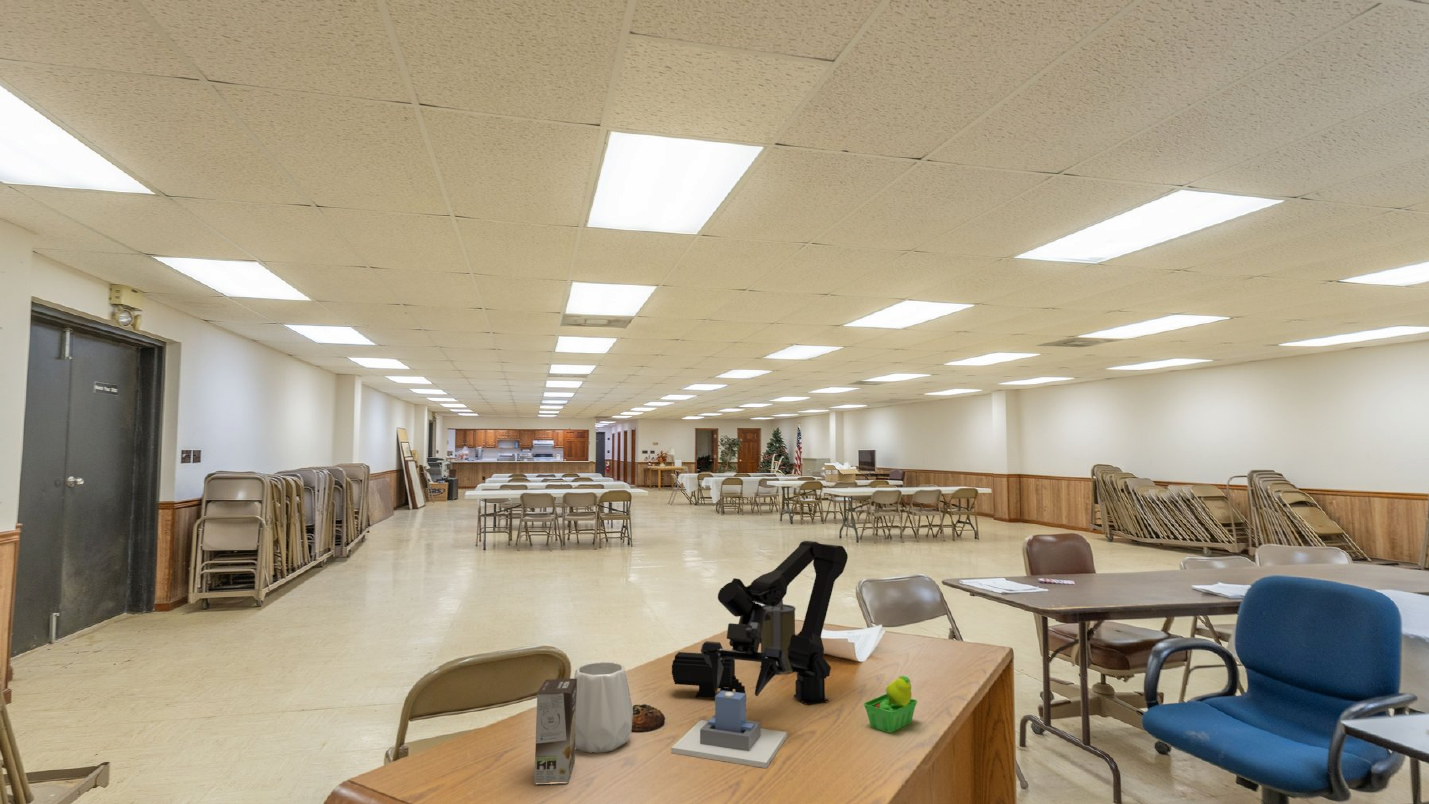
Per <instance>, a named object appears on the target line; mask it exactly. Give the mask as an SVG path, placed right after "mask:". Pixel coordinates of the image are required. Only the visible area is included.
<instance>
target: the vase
mask: <svg viewBox="0 0 1429 804" xmlns="http://www.w3.org/2000/svg"><path fill="white" fill-rule="evenodd" d="M575 678H576V679H577V696H576V736H575V748H576V749H575V750H578V749H579V750H578V751H581V750H582V751H581V752H584V751H585V752H584V753H588V752H589V754H593V753H592V752H599V753H605V752H606V753H607V752H612V751H614V750H616V749H617V748H620V747H621V746H623V745H624V744H626V743H627V742H628V741H629V737H630V735H631V733H632V731H631V730H632V718H633V708H632V706H633V704H632V697H631V693H630V686H629V682H628V677H627V673H626V670H625V665H622V664H621V663H618V662H614V661H613V662H612V661H599V662H598V661H596V662H589V663H584V664H583V665H580V666H578V667H577V668H576V669H575V671H574V678H573V679H575Z"/></svg>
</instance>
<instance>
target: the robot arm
mask: <svg viewBox="0 0 1429 804" xmlns="http://www.w3.org/2000/svg"><path fill="white" fill-rule="evenodd" d="M847 561H848V552H847V551H846V549H845V547H844V546H843V545H837V544H827V543H820V542H817V541H811V540H803V541H801V542H800V543H799V545H798V547H797V548H796V549H795V550H793V552H791V553H790V554H789V555H788V556H787V557H786V558H785V559H783V561H782V562H781V563H780V564H779V565H777V567H776V568H775V569H772V570H771V571H770V572H767V573H764V574H761V575H760V576H758V577H757V578H756V579H755V578H754V580H752V582H751V583H750V584H749V585H747V586H746V585H745V584H744V583H743V581H742V580H741V579H740V578H735V577H733V578H732V580H731V582H728V583H726V584H724V586H723V587H721V588H720V589H719V591H718V593H717V599H718V602H719V603H720V604H721V605H722V606H724V608H725V609H726V610H728V612H729V613H730V614H731V615H732V616H734V617H736V618H737V617H739V621H738V623H728V624H727V633H726V639H727V640H729V643H728V644H729V645H730V647H732V648H731V649H728V648H727V649H726V648H723V646H722V643H721V642H719V641H709V640H707V641H704V642H703V643H702V644H701V648H700V652H701V653H702V655H703V657H704V659H705V661H706V663H707V664H709V665H710V667H711V668H712V671H713V683H714V690H715V691H716V692H717V691H718V690H719V688H718V687H719V684H720V680H721V676H722V672H723V668H724V667H723V665H722V664H723V663H724V659H725V658H726V659H734V660H737V661H746V662H748V661H749V662H759V663H760V666H761V669H760V670H759V673H758V674H759V675H758V677H757V682H756V685H755V689H754V695H755V696H756V697H758V696H759V695H760V693H762V691H763V690H764V688H765V687H766V685H767V684H768V683H769V682H770V681H771V680H772V679H773V678H774V676H779V675H780V674H779V672H785V671H786V666H787V660H786V657H785V654H784V651H783V650H782V648H777V647H766V648H765V650H764V653H761V651H759V648H760V645H761V641H762V639H761V634H762V629H763V624H764V621H768V620H771V617H770V615H769V614H768V612H767V609H764V608H763V607H762V605H769V606H777V605H778V604H779V603H780V602H781V600H782V599H783V600H784V598H785V596H786V594H787V592H788V587H789V586H790V584H791V583H792V582H793V580H795V579H796V578H797V577H798V576H799V575H800V574H801V573H802V572H803V571H804V570H805V569H806V568H807V566H809V565H810V564H811V563H812V565H813V568H814V569H813V570H814V573H815V578H814V582H813V584H812V589H811V594H810V597H809V601H808V605H807V609H806V612H805V616H804V620H803V624H802V627H801V630H800V631H799V632H798V634H795V635H794V634H793V635H792V636H791V640H790V645H789V647H788V649H787V650H788V659H789V662H790V665H791V669H792V673H796V680H795V683H794V684H795V694H794V695H793V698H795V699H797V700H798V701H800V702H801V703H803V704H805V705H806V706H807V705H813V704H820V703H826V702H829V699H828V697H826V690H825V687H826V684H825V683H826V682H825V679H827V677H830V675H831V669H832V667H831V665H830V664H829V663H828V662H827V661H826V659H825V658H824V651H825V647H824V644H823V640H822V633H823V630H824V629H823V628H824V625H825V621H826V617H827V613H828V610H829V609H828V608H829V605H830V600H831V597H832V593H833V588H834V585H835V582H836V581H837V579H838V578H839V577H840V576H841V575H842V574H843V573H844V571H845V568H846V566H847Z"/></svg>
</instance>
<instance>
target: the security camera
mask: <svg viewBox="0 0 1429 804" xmlns="http://www.w3.org/2000/svg"><path fill="white" fill-rule="evenodd" d="M735 660H736V659H726V658H725V659H724V663H723V664H722V665H723V667H724V668H723V672H722V676H721V680H720V684H719V687H718V689H719V692H721V691H730V692H738V693H746V688H745V685H742V684H743V683H742V682H739V680H740V679H739V678H736V677H737V676H736V667H735V666H736V661H735ZM671 675H672V679H673V682H674V685H679V686H680V685H683V686H695V687H698V690H697V692H696V693H695V698H701V699H702V698H703V699H714V700H715V696H716V695H717V694H716V693H717V691H715V690H714V683H713V671H712V668H711V667H710V665H709V664H707V663H706V661H705V659H704V657H703V655H702V653H700V652H685V651H678V652H677V653H676V654H675V655H674V659H673V660H672V664H671Z"/></svg>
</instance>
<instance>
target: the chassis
mask: <svg viewBox="0 0 1429 804" xmlns="http://www.w3.org/2000/svg"><path fill="white" fill-rule="evenodd" d="M711 718H715V715H713V716H712V717H711ZM708 721H709V720H703V719H700V720H699V721H698V722H697V723H695V725H694V726H693V727H691V728H690V730H688V731H687V732H686V733H685V734H684V735H683V736H682V737H681V738H680V739H679V740H678V741H677V742H676V743H674V744H673V745H672V746H671V750H670V752H671V753H672V754H677V755H681V756H682V755H683V756H689V757H695V758H702V759H708V760H713V761H720V762H726V763H732V764H738V765H744V766H750V767H757V768H763V769H767V768H768V767H769V765H770V763H771V762H772V761H773V759H774V758H775V756H776V754H777V753H778V751H779V750H780V748H781V747H782V746H783V744H784V742H785V741H786V739H787V738H788V732H787V731H782V730H773V729H767V728H761V725H762V723H761V721H756V720H749V719H746V723H753V724H754V728H753V729H752V730H751V731H748V730H746V731H745V732H744V733H737V732H730V731H723V730H717V729H715V726H713V725H708Z"/></svg>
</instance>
